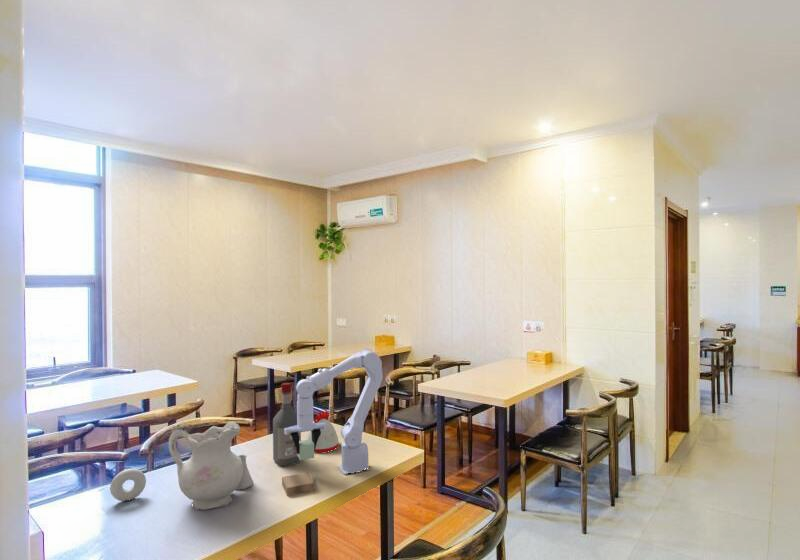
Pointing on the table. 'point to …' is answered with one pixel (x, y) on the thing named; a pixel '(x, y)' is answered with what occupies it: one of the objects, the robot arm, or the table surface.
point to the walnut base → (297, 483)
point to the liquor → (283, 443)
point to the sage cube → (306, 449)
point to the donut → (126, 475)
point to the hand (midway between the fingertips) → (305, 451)
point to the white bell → (325, 434)
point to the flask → (245, 475)
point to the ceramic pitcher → (208, 465)
